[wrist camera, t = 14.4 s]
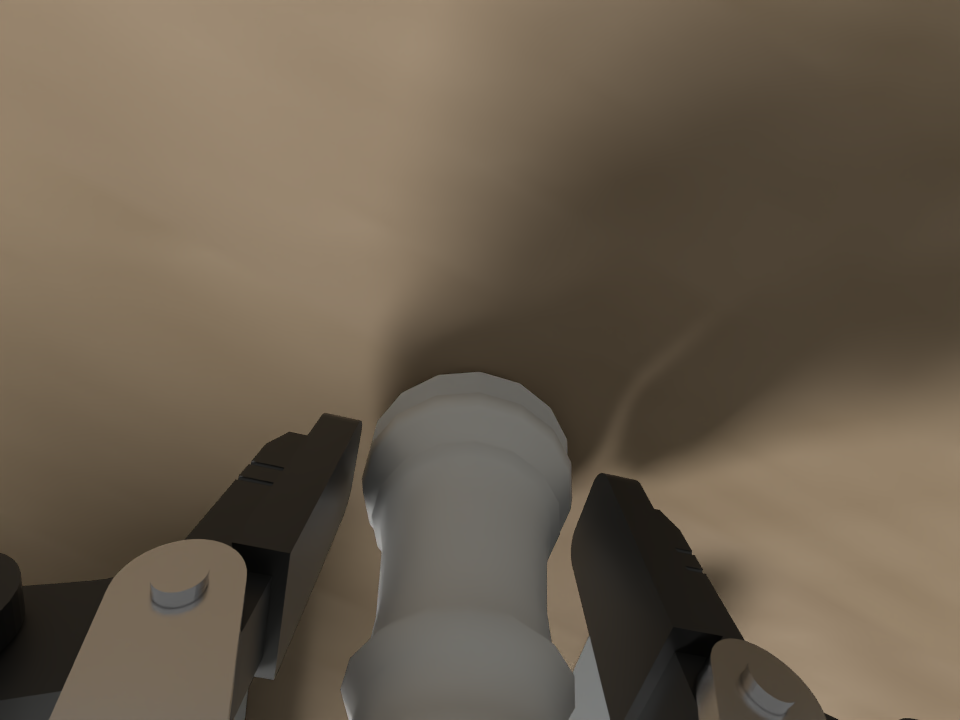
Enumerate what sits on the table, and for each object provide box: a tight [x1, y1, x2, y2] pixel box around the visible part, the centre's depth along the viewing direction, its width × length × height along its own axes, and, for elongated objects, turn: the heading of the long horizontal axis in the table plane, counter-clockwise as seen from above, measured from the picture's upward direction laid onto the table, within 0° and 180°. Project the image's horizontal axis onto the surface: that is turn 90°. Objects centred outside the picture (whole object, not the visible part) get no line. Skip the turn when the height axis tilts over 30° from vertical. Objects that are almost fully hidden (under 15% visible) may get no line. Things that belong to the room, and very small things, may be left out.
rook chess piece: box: [340, 372, 575, 720], centre depth 7 cm, size 4×4×8 cm
